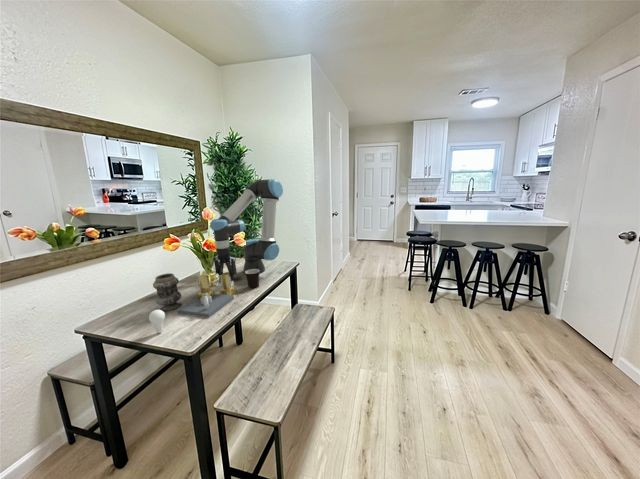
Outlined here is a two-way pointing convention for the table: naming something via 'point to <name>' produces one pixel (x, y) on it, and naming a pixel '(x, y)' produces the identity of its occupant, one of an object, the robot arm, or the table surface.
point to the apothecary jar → (167, 292)
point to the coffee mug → (252, 278)
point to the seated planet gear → (204, 287)
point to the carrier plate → (201, 308)
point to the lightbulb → (157, 320)
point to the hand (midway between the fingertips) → (227, 285)
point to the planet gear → (227, 285)
